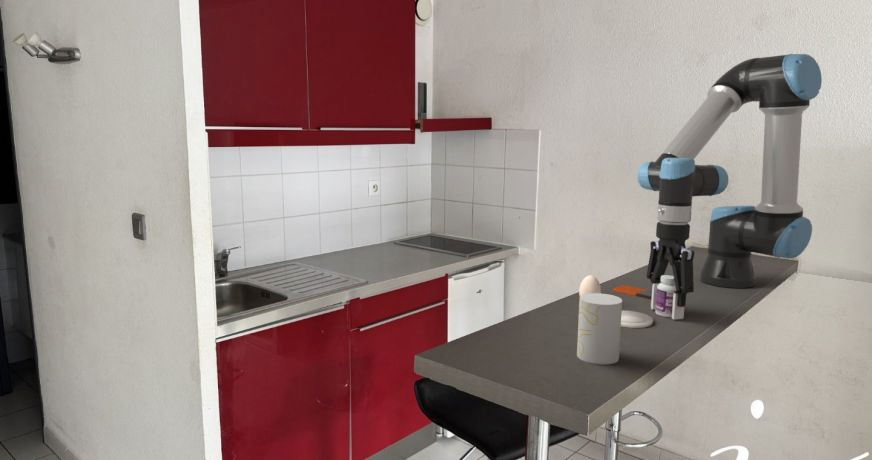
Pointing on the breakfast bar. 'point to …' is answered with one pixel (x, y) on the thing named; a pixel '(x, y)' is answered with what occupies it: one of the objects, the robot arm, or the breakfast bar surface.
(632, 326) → the saucer
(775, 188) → the robot arm
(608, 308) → the white upright cylinder
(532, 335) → the breakfast bar surface
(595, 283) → the egg
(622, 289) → the phone
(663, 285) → the pill bottle
